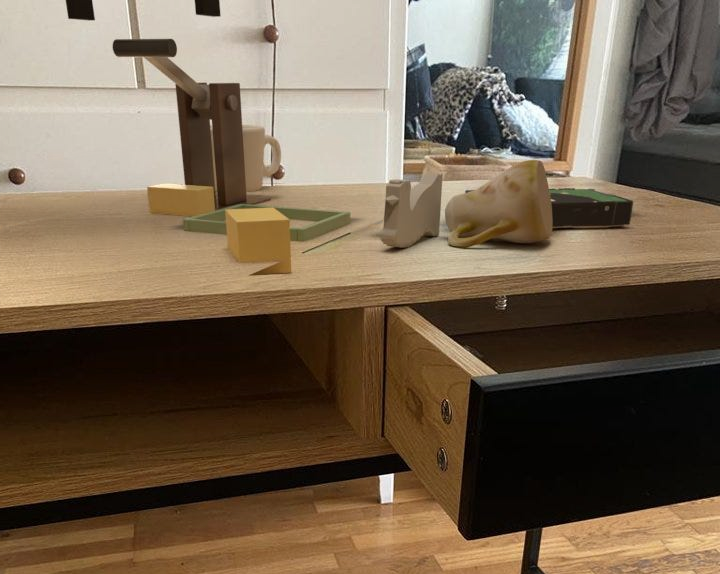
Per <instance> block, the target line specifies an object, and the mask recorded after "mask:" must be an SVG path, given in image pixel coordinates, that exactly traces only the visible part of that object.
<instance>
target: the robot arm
mask: <svg viewBox="0 0 720 574" xmlns="http://www.w3.org/2000/svg"><path fill="white" fill-rule="evenodd" d="M65 4H66V6H65V7H66V11H67V12H66V13H67V19H69V20H75V21H76V20H78V21H89V22H90V21H96V17H95V10H94V3H93V0H65ZM194 9H195V15H196V16H204V17H212V18H218V17H219V18H220V17H221V16H222V15H221V2H220V0H194Z"/></svg>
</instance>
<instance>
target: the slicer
mask: <svg viewBox="0 0 720 574" xmlns="http://www.w3.org/2000/svg"><path fill="white" fill-rule="evenodd" d="M196 82H197V81H196ZM197 83H198V84H204V85H209V91H210V104H211V117H212V120H208V119H205V118H203V117H202V116H201V115H200V114H198V113H197V112H196V111H195V110H193V109H192V108H191V107H192V101H193V97H191V96H190V95H189V94H188V93H187V92H185V91H184V90H183V89H182V88H180V87H179V86H178V85H177V84H176V83H174V84H175V94H176V105H177V114H178V115H177V117H178V127H179V136H180V147H181V157H182V158H181V159H182V168H183V180H184V185H194V186H209V187H213V191H214V203H215V211H216V210H220V209H223V208H227V207H231V206H235V205H238V204H249V205H260V204H263V203H266V202H270V201H272V197H262V196H261V197H259V196H247V192H246V180H245V163H244V146H243V130H242V125H243V115H242V114H243V113H242V100H241V99H242V97H241V84H240V82H210V83H208V82H201V81H200V82H197ZM210 125H212V130H213V143H214V156H215V169H216V182H217V191H215V181H214V168H213V155H212V142H211V130H210Z"/></svg>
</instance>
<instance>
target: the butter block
mask: <svg viewBox="0 0 720 574" xmlns="http://www.w3.org/2000/svg"><path fill="white" fill-rule="evenodd" d="M146 189H147V190H146V191H147V198H148V207H149V213H150V214H160V215H171V216H182V217H183V216H185V217H193V216H197V215H201V214H205V213H208V212H212V211H215V203H214V191H213V187H209V186H194V185H185V184H178V183H159V184H155V185H150V186H147V187H146Z"/></svg>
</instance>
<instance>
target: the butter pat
mask: <svg viewBox="0 0 720 574" xmlns="http://www.w3.org/2000/svg"><path fill="white" fill-rule="evenodd" d="M225 215H226V221H225V222H226V229H227V235H226V243H227V249H228V250H229V251H230V253H231V254H232V255H233V256H234V258H235V259H236V261H237V262H238V263H239V264H245V263H263V262H277V263H274V264H272V265H269V266H267V267H264V268H263V269H262V268H261V269H259V270H258V271H255V272H253V273H250V274H249V276H260V275H275V274H277V275H278V274H291V273H292V250H291V240H290V227H291V223H290V220H291V219H288V218H287V217H285V216H284V215H283V214H281V213H280V212H279V211H277V210H276V209H275V208H250V209H226V210H225Z"/></svg>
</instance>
